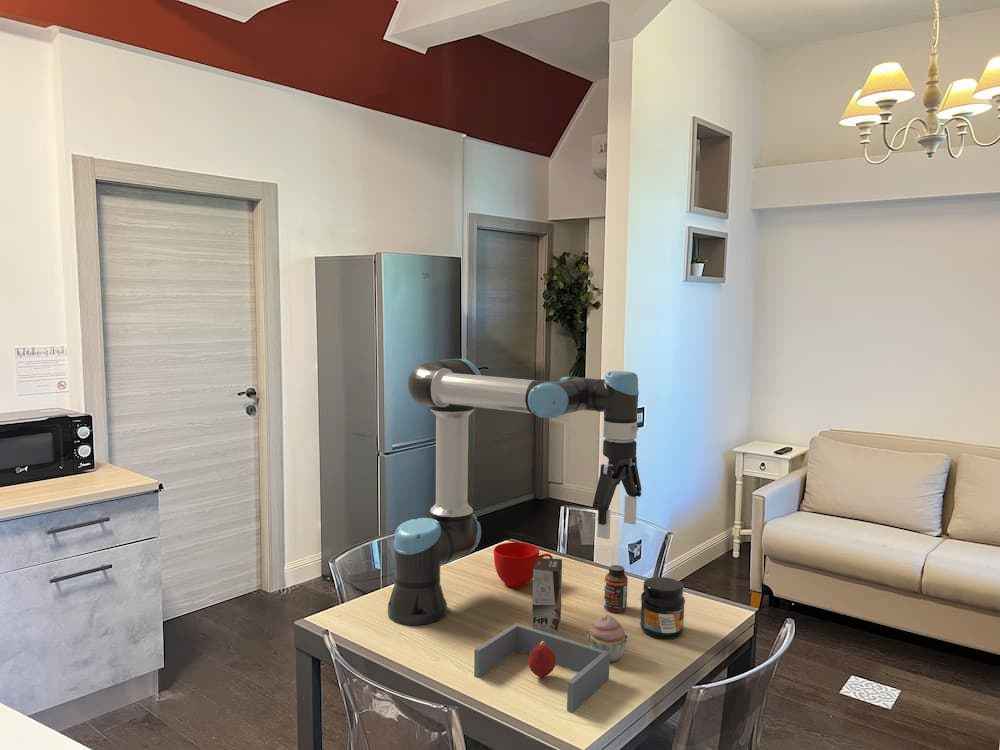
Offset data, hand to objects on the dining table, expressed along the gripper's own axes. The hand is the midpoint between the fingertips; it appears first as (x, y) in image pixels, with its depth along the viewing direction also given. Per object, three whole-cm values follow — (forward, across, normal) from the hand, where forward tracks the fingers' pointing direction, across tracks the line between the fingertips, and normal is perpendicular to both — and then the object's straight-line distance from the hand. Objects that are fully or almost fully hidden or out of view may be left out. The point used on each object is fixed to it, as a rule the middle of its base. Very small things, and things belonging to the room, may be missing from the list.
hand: (617, 530), depth 169 cm
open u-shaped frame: (+28, -22, +6) cm, 36 cm away
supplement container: (+28, +15, -6) cm, 32 cm away
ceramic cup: (+28, +20, +38) cm, 51 cm away
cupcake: (+28, -5, -1) cm, 29 cm away
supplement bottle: (+28, +20, +9) cm, 36 cm away
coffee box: (+28, 0, +18) cm, 34 cm away
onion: (+28, -22, +6) cm, 36 cm away
